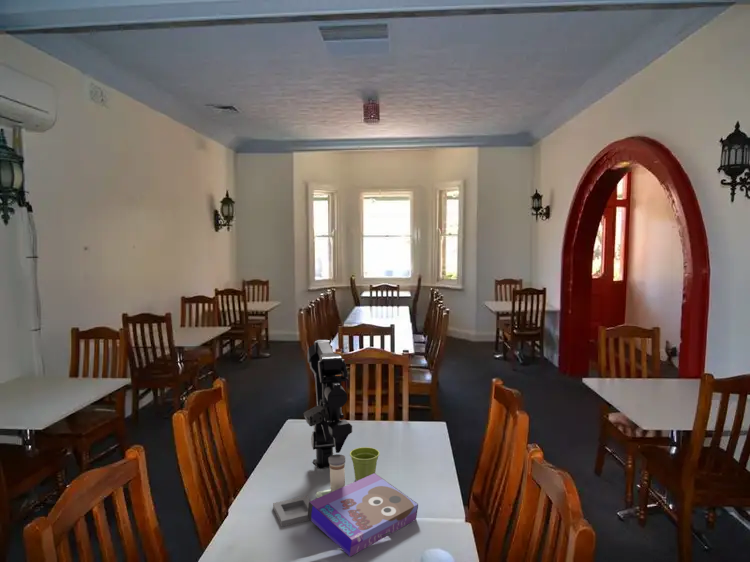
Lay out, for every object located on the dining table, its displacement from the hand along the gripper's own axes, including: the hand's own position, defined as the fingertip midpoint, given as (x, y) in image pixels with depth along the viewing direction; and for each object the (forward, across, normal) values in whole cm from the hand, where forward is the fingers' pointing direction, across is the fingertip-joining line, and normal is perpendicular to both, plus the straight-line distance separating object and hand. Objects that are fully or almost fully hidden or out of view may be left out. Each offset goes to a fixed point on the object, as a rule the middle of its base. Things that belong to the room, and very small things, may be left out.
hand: (332, 446), depth 161 cm
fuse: (+12, +10, -2) cm, 16 cm away
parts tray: (+13, +10, -2) cm, 17 cm away
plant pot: (+13, -1, +11) cm, 17 cm away
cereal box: (+9, +18, +12) cm, 24 cm away
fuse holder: (+13, +11, -15) cm, 23 cm away
